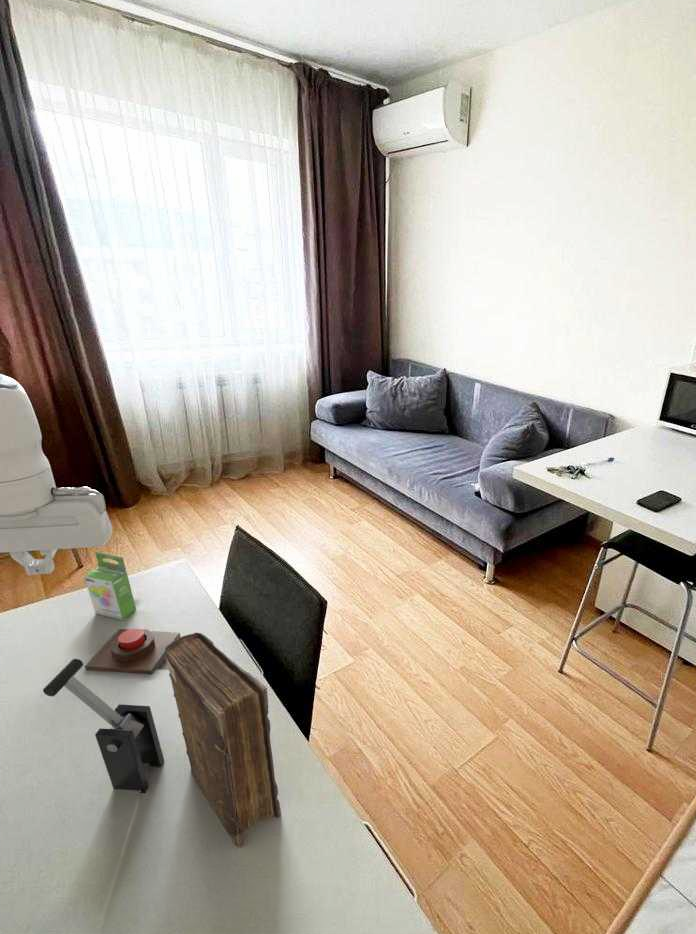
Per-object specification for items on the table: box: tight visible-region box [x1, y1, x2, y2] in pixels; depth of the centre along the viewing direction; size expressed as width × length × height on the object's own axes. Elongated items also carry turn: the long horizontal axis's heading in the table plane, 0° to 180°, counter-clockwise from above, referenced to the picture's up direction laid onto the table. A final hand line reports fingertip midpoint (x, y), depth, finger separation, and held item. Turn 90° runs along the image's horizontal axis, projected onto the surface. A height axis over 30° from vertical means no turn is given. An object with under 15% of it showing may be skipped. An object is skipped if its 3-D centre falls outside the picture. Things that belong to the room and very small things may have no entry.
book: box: [164, 632, 282, 849], centre depth 66 cm, size 17×7×25 cm, turn 45°
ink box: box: [83, 551, 137, 621], centre depth 102 cm, size 7×4×13 cm, turn 76°
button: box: [118, 627, 145, 650], centre depth 92 cm, size 4×4×2 cm
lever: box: [42, 658, 144, 738], centre depth 66 cm, size 13×5×2 cm
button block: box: [84, 628, 182, 675], centre depth 93 cm, size 12×10×4 cm
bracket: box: [94, 703, 165, 794], centre depth 70 cm, size 12×9×13 cm
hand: (41, 572), depth 74 cm, fingers closed
